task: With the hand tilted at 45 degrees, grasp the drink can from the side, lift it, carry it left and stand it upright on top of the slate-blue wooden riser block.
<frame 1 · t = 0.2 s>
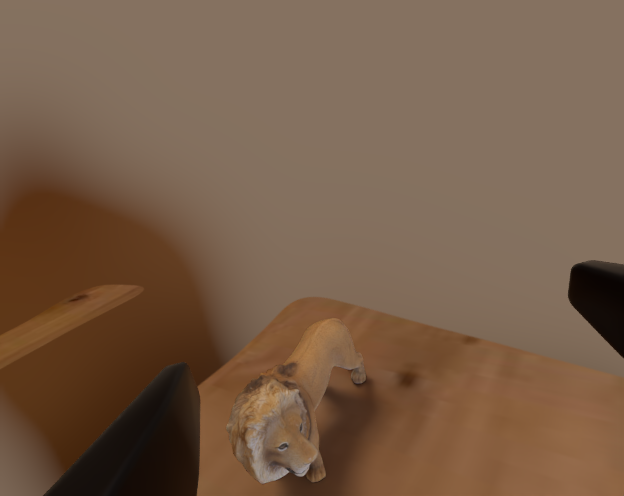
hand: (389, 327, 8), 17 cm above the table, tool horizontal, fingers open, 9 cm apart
lion figurine: (320, 437, 25), on the table
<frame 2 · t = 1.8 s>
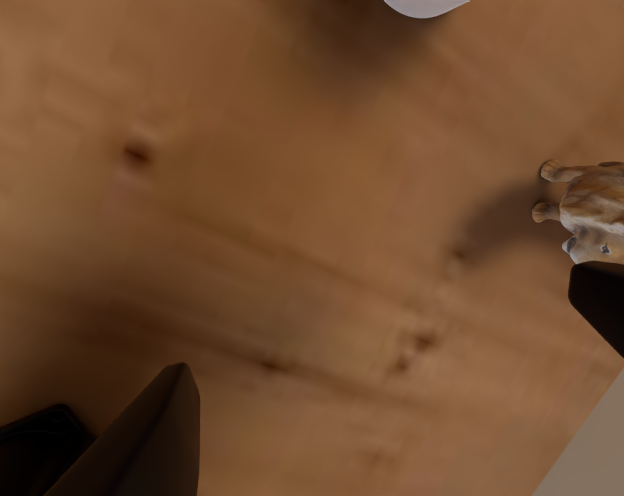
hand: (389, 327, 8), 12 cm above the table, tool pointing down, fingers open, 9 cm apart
lion figurine: (569, 207, 24), on the table
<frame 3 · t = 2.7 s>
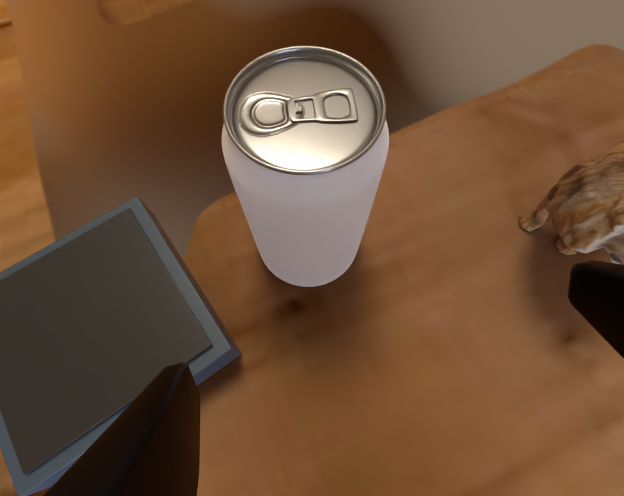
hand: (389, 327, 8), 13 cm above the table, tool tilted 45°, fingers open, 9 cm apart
can: (308, 242, 24), on the table
lion figurine: (577, 219, 24), on the table
riser: (113, 332, 21), on the table
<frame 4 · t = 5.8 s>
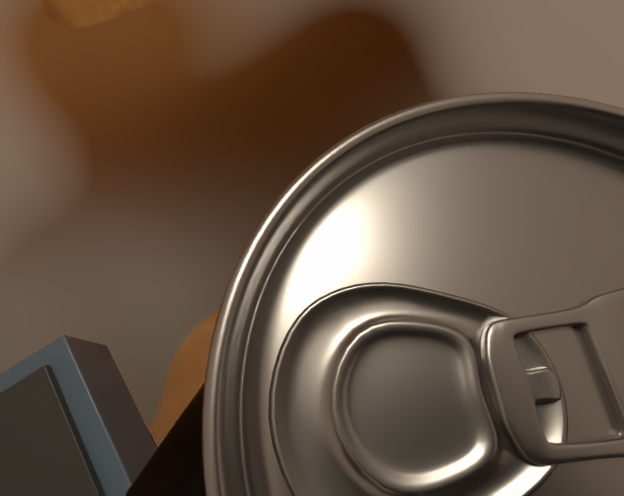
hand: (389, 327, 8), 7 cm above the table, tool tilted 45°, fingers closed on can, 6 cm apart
can: (365, 394, 14), on the table, touching gripper
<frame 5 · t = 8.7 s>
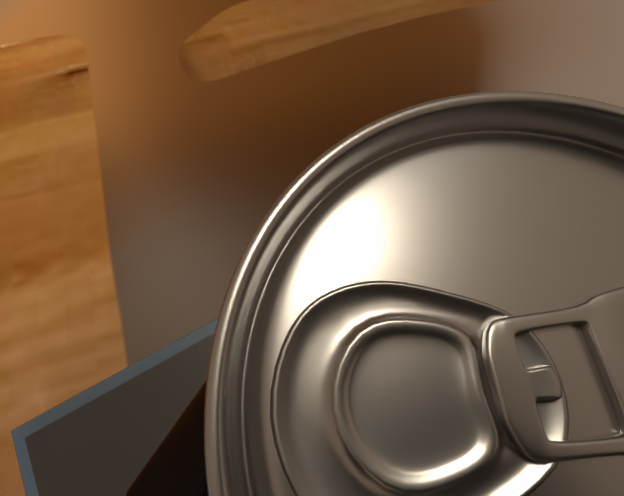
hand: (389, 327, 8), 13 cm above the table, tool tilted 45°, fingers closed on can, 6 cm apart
can: (366, 394, 14), point 6 cm above the table, touching gripper
riser: (184, 469, 19), on the table
when the fingers open (10 cm above the table, at t = 11.8 s): can stays where it is, resting on riser.
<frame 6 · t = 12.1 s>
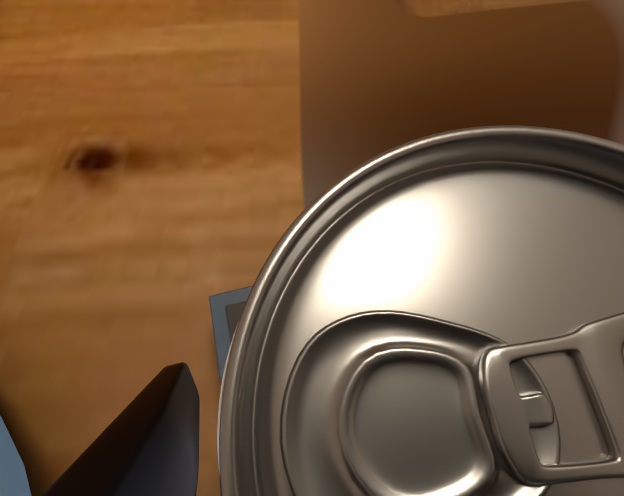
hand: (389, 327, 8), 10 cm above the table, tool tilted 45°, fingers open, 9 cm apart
can: (367, 399, 14), point 3 cm above the table, touching riser
riser: (358, 395, 17), on the table
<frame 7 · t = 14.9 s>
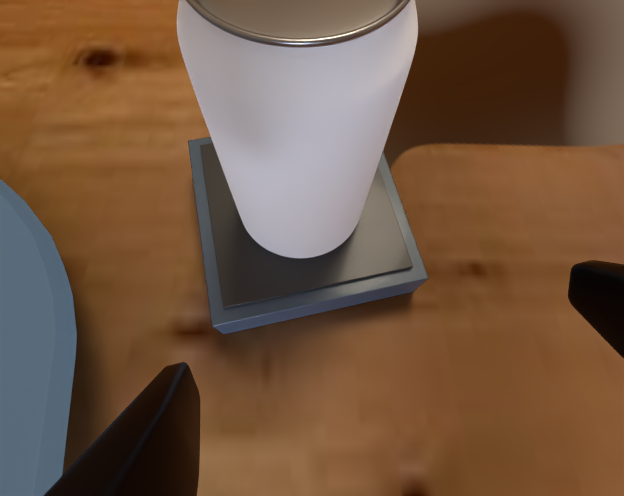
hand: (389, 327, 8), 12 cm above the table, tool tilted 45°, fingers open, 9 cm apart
can: (300, 206, 20), point 3 cm above the table, touching riser
riser: (300, 225, 22), on the table
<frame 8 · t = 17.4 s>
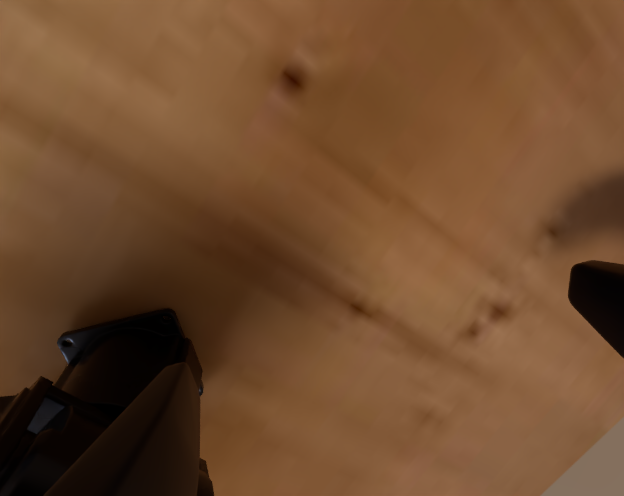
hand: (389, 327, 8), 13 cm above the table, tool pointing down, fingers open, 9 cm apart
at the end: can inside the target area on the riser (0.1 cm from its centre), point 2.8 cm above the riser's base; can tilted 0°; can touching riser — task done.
